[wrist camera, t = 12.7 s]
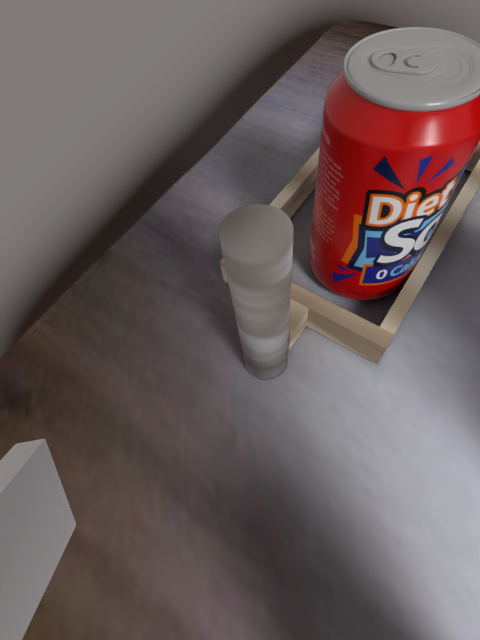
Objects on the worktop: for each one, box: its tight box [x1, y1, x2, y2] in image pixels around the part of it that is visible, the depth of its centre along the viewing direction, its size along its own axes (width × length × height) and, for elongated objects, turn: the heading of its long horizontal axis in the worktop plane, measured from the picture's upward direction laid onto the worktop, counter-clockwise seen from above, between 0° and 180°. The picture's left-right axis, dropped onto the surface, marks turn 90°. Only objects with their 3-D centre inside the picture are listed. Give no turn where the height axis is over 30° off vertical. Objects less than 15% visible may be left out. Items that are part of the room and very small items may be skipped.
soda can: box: [309, 27, 480, 300], centre depth 23 cm, size 8×8×15 cm
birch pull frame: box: [219, 141, 480, 380], centre depth 25 cm, size 28×13×13 cm, turn 145°
